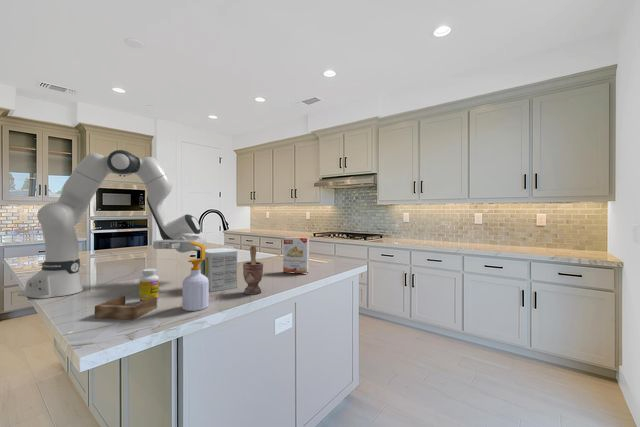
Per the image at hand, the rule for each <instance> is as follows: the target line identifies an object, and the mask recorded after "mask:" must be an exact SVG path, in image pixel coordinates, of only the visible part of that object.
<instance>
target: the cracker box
mask: <svg viewBox="0 0 640 427" xmlns="http://www.w3.org/2000/svg"><path fill="white" fill-rule="evenodd" d="M282 256H283V262H282V263H283V264H282V270H283V271H282V273H283V272H294V273H307V272H308V271H309V269H310V266H309V265H310V237H309V236H308V237H307V236H304V237H303V236H284V237H283V255H282ZM308 273H309V272H308ZM308 273H307V274H308Z"/></svg>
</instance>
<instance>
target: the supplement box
mask: <svg viewBox="0 0 640 427" xmlns="http://www.w3.org/2000/svg"><path fill="white" fill-rule="evenodd" d="M199 251H200V253H199V254H200V258H199V259H201V250H199ZM199 265H200V266H199V267H200V273H201V274H202V275H204V276H205V277H207V278H208V281H209V293H211V292H216V291H217V292H218V291H224V290H230V289H237V288H238V250H235V249H233V248H229V247H220V248H207V249H206V248H205V259H204V260H203V261H201V262H200V264H199ZM236 287H237V288H236Z"/></svg>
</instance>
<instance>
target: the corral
mask: <svg viewBox="0 0 640 427" xmlns="http://www.w3.org/2000/svg"><path fill="white" fill-rule="evenodd" d="M157 308H158V302H157V297H152V298H150V299H147V300H145V301H143V302H141V303H140V302H139V303H136V304H134V305H126V295H120V296H117V297H114V298H113V299H109V300H107V301H104V302H102V303H100V304H96V305H94V318H95V319H111V320H132V321H135V320H136V319H138V318H140V317H142V316H144V315H145V314H148V313H149V312H151V311H153V310H155V309H157Z"/></svg>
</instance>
